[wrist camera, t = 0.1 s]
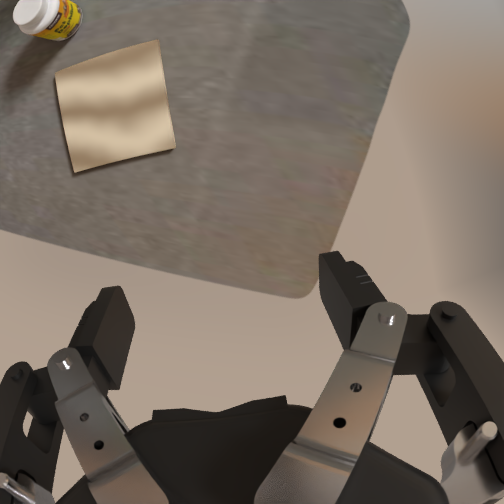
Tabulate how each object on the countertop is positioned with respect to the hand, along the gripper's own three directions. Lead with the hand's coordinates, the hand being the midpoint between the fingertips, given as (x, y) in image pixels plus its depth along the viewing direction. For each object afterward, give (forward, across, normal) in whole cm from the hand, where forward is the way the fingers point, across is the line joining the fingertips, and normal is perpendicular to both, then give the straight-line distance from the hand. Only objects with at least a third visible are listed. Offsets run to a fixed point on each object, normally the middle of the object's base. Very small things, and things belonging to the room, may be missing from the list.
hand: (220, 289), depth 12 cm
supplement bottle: (+29, +17, -23) cm, 41 cm away
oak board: (+29, +12, -9) cm, 33 cm away
